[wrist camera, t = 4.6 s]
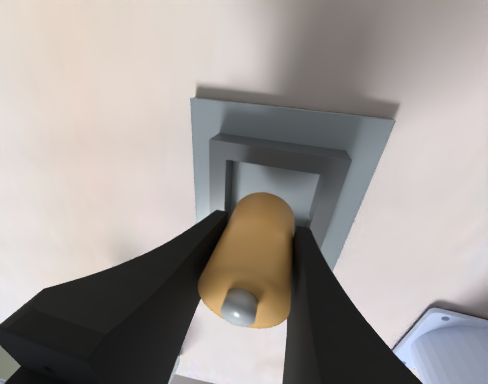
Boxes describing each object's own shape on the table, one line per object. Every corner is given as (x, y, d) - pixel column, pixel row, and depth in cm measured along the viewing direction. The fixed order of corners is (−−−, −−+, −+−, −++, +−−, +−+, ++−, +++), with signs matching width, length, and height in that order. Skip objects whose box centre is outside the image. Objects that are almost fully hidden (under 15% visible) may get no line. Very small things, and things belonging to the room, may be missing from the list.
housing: (391, 118, 11) (410, 127, 9) (331, 265, 16) (335, 289, 14) (194, 97, 13) (176, 100, 11) (200, 235, 18) (188, 253, 16)
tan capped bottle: (300, 198, 11) (299, 298, 6) (288, 247, 12) (279, 355, 8) (236, 186, 11) (187, 269, 6) (232, 235, 13) (192, 328, 8)
